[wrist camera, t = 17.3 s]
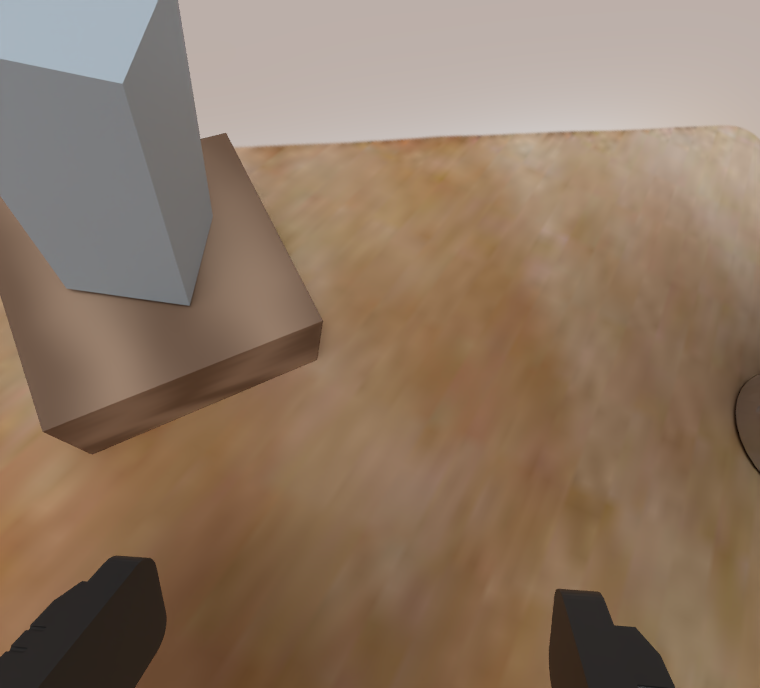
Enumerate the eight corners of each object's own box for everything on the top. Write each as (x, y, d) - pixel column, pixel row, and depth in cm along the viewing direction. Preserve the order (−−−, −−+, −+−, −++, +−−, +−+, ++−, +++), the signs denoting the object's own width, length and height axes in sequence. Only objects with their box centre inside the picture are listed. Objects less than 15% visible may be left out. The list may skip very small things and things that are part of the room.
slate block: (212, 216, 26) (172, -34, 15) (189, 305, 23) (122, 83, 13) (102, 197, 25) (-23, -81, 14) (66, 288, 23) (-116, 34, 12)
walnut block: (236, 200, 34) (225, 132, 28) (316, 361, 30) (322, 320, 25) (28, 260, 29) (-31, 195, 24) (94, 455, 26) (42, 431, 20)
